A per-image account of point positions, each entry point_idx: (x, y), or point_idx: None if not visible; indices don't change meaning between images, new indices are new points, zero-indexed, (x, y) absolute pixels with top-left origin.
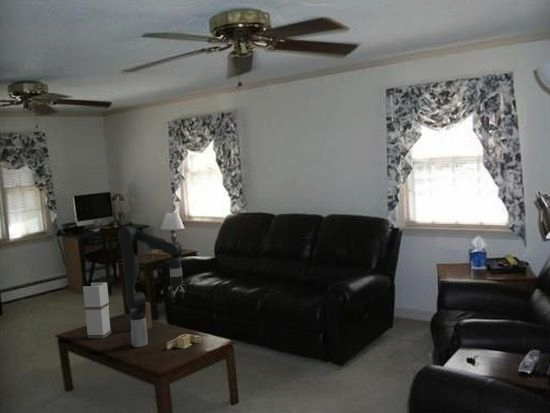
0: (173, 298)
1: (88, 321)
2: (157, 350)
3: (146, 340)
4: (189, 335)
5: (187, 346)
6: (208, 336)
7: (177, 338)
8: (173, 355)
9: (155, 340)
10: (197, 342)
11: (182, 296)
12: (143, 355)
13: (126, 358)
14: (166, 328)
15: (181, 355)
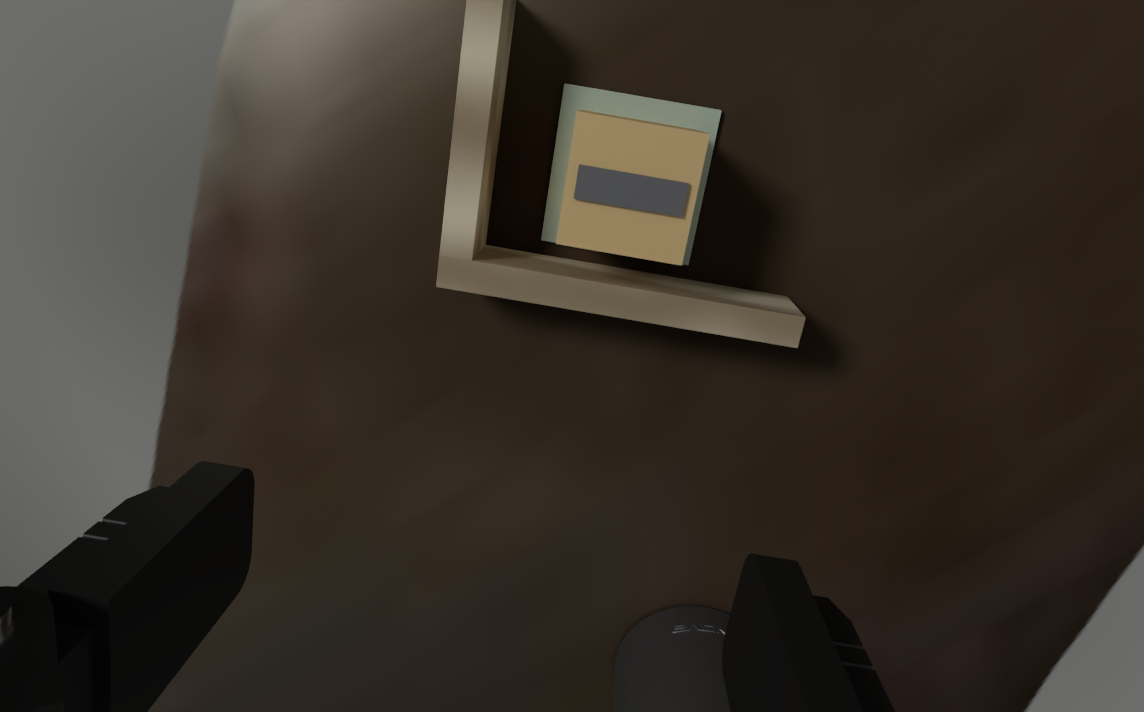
0: (835, 682)
1: None
2: (822, 411)
3: (694, 636)
4: (477, 179)
5: (661, 104)
6: (254, 11)
7: (682, 253)
8: (958, 129)
9: (548, 588)
10: (511, 36)
11: (210, 544)
12: (977, 480)
13: (1066, 600)
14: (200, 661)
15: (952, 18)
